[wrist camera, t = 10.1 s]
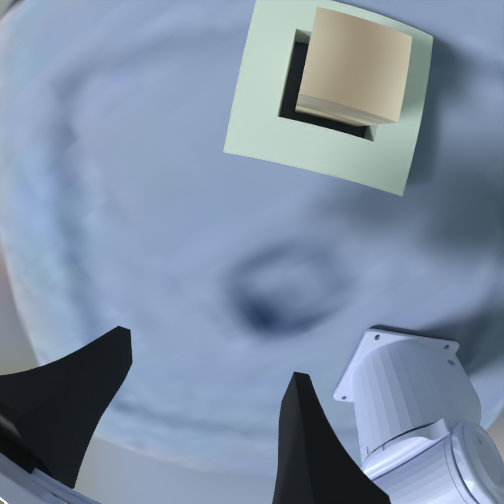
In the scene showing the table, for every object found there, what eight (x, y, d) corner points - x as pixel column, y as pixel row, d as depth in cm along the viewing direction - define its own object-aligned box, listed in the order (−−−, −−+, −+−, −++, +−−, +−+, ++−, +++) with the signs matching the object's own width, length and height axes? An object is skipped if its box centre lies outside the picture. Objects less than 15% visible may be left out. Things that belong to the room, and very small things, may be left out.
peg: (364, 73, 15) (412, 36, 8) (353, 126, 16) (398, 122, 9) (306, 57, 15) (316, 6, 8) (294, 111, 16) (298, 93, 9)
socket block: (417, 46, 14) (433, 36, 11) (388, 188, 17) (402, 196, 15) (263, 4, 14) (259, -13, 12) (232, 149, 18) (223, 152, 15)
